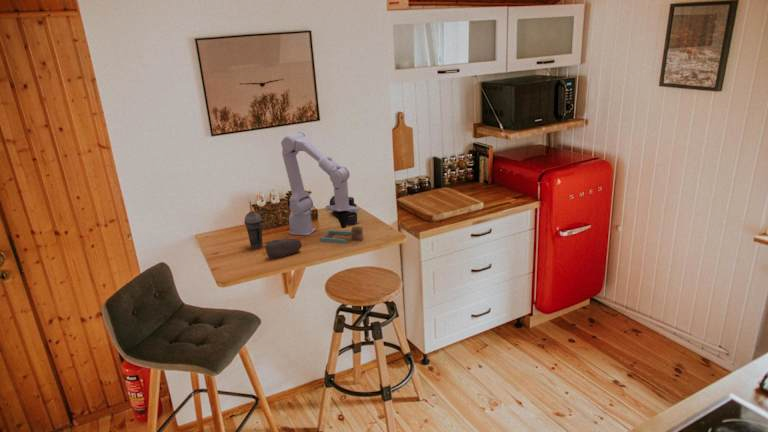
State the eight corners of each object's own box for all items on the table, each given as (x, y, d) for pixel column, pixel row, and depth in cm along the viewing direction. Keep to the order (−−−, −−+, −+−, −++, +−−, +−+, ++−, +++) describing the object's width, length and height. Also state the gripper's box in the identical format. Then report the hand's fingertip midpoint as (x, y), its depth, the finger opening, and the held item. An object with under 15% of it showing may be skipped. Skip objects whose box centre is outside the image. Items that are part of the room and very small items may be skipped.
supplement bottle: (351, 226, 239) (349, 201, 235) (339, 224, 243) (337, 199, 239) (360, 222, 244) (358, 197, 241) (349, 219, 248) (347, 195, 245)
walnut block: (352, 241, 223) (351, 230, 221) (353, 237, 226) (352, 226, 225) (361, 241, 222) (360, 229, 220) (363, 237, 226) (362, 226, 224)
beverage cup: (250, 251, 217) (243, 205, 211) (246, 246, 224) (239, 201, 217) (267, 247, 221) (261, 202, 214) (263, 242, 227) (256, 198, 220)
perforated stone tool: (300, 249, 217) (298, 233, 215) (304, 253, 213) (302, 237, 211) (264, 257, 212) (262, 240, 209) (267, 261, 207) (265, 245, 205)
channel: (320, 241, 224) (319, 238, 224) (329, 233, 233) (329, 230, 232) (346, 243, 220) (345, 240, 220) (354, 235, 229) (354, 232, 228)
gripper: (321, 198, 218) (324, 229, 222) (353, 200, 213) (356, 231, 218) (328, 193, 224) (331, 223, 229) (360, 195, 219) (362, 226, 224)
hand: (343, 227), depth 224 cm, fingers closed
